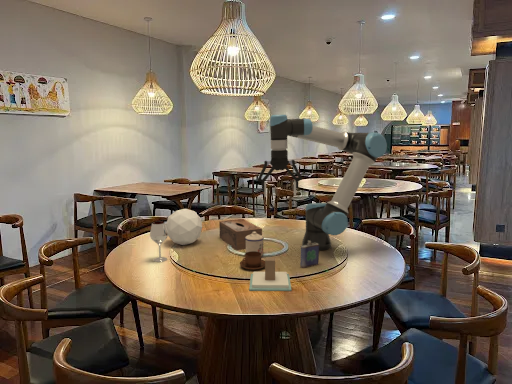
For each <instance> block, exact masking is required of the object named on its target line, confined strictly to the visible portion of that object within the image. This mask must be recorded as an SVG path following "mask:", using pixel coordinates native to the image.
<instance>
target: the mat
mask: <svg viewBox="0 0 512 384" xmlns="http://www.w3.org/2000/svg"><path fill="white" fill-rule="evenodd" d="M287 277H288V284H289V288H252V280H253V273H251V274H250V277H249V278H250V280H249V289H248V290H249V292H267V291H268V292H292V285H291V279H290V278H291V277H290V274H289V273H287Z"/></svg>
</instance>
